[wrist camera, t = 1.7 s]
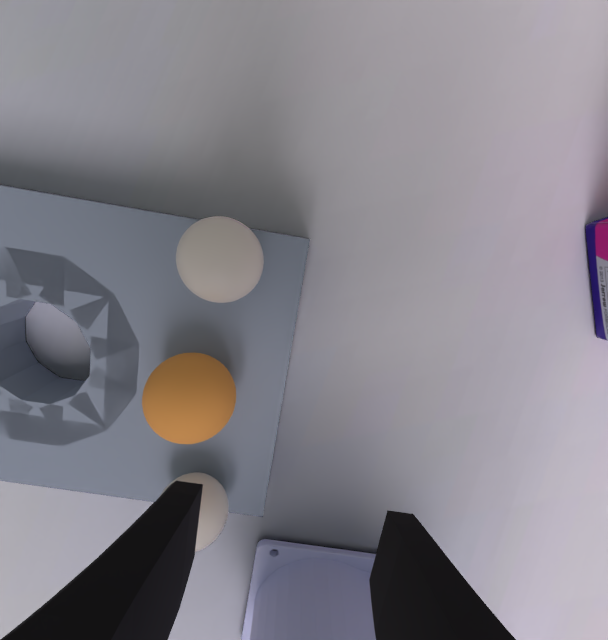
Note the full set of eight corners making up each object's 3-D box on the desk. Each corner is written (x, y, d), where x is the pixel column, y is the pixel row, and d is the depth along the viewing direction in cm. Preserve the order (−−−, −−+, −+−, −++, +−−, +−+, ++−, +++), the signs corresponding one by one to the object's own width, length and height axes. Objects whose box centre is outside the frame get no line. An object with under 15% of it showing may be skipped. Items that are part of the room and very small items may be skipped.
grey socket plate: (308, 238, 16) (309, 239, 14) (267, 481, 19) (262, 516, 17) (-30, 179, 16) (-90, 170, 13) (-18, 440, 19) (-65, 471, 16)
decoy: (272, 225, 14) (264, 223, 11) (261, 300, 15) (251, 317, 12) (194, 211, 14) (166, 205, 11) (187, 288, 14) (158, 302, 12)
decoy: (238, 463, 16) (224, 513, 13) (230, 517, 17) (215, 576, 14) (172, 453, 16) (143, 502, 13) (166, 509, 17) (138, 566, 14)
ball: (247, 348, 15) (232, 381, 12) (237, 420, 16) (220, 470, 13) (166, 335, 15) (127, 364, 12) (160, 409, 16) (121, 456, 12)
